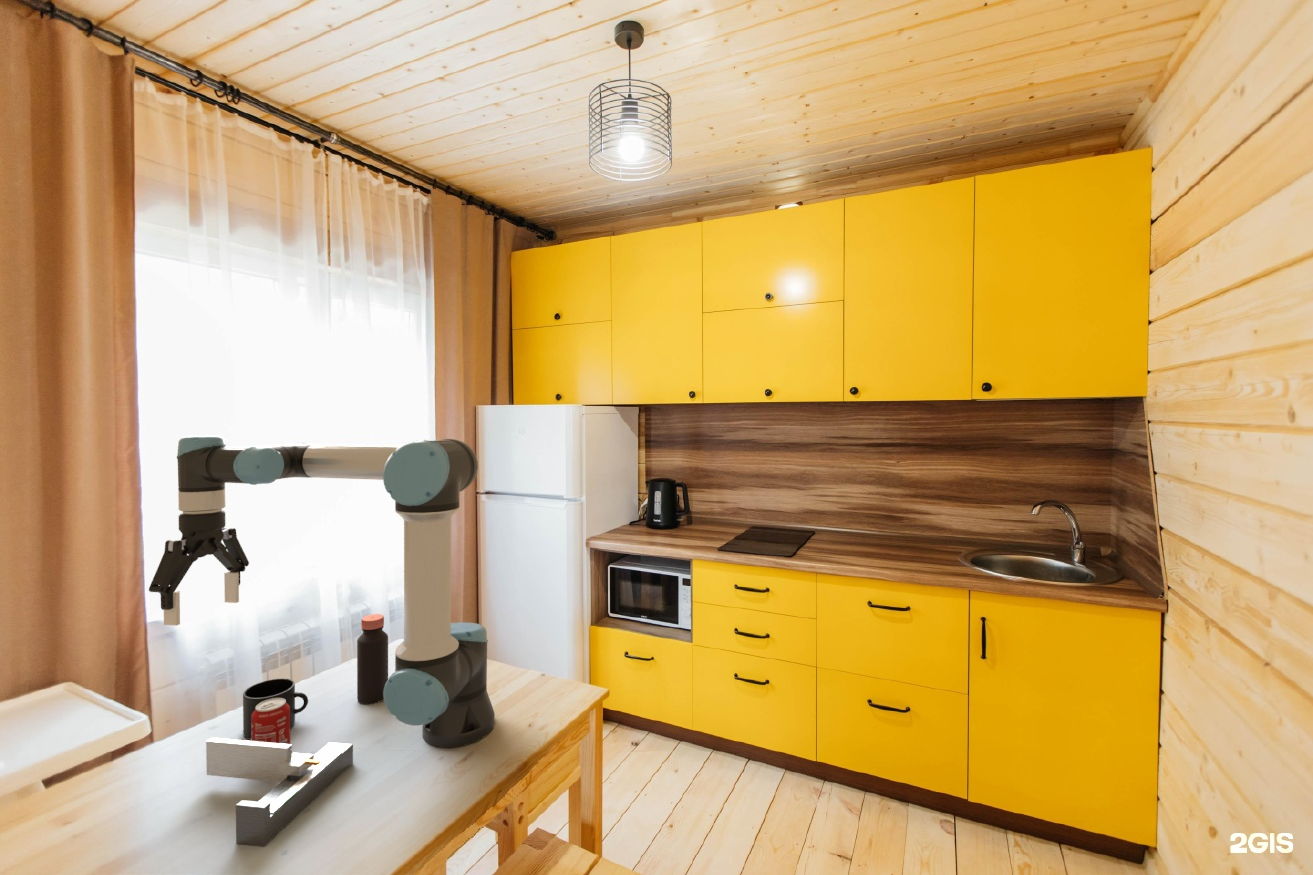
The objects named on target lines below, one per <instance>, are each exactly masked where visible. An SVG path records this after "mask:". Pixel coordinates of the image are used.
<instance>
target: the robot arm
mask: <svg viewBox="0 0 1313 875" xmlns="http://www.w3.org/2000/svg"><path fill="white" fill-rule="evenodd" d="M176 460H177V480H178V482H177V484H178V485H177V487H178V494H177V495H178V510H179V511H181V512H180V513H179V514H178V531H179V532H180V533H181V534H182V536H181V538H180V539H178V540H173V539H167V540H166V541H165V543H164V553H163V554H162V557H161V560H160V562H159V564H158V566H157V569H156V571H155V574H154V576H153V577H152V580H151V583H150V585H149V588H148V591H149V592H150V593H159V594H160V608H161V610H163V625H164V626H180V625H181V611H180V610H181V606H180V603H181V602H180V601H181V600H180V598H181V595H180V594H181V593H180V591H179V590H177V589H178V587H179V585H180V584H181V583H182V580H183V579H184V577H185V575H186V574H187V573H188V572H189V569H190V568H191V567H192V565H193V563H194V562H197V560H198V559H199V558H203V557H206V556H207V555H208V556H211V555H213V556H214V558H216V560H218V562H219V563H220V564H221V565H223V567H224V568H225V569H226V570H228V571H226V572H224V573H223V574H224V576H223V577H224V581H223V582H224V603H230V604H232V603H233V604H237V603H239V602H240V589H239V588H240V585H241V572H245V571H246V567H248V566H249V565H250V561H249V560H248V558H247V556H246V554H245V551H244V550H243V547H242V545H241V543H240V541H239V538H238V537H237V529H236V528H234V527H226V511H225V510H224V508H226V483H227V484H228V483H229V484H230V483H231V484H248V485H263V484H264V485H266V484H267V485H268V484H271V483H274V482H275V481H276V480H281V479H289V478H310V479H311V478H320V479H321V478H324V479H350V480H351V479H353V480H376V481H379V480H380V481H381V480H382V481H383V485H384V488H385V490H386V492H387V493H388V494H389V495H390V498H391V499H392V500H394V502H395V504H394V505H395V506H394V508H395V510H394V511H395V513H397V514H398V515H399V516H400V517H401V518H402V519H403V641H402V642H401V643H400V644H399V645H398V646H397V647H396V649H395V654H394V655H395V662H394V663H395V664H394V666H395V670H394V672H393V673H392V674H391V675H390V676H388V681H387V682H386V684H385V687H384V691H383V697H384V700H383V701H384V705H385V707H386V709H387V711H388V712H389V714H390V715H393V716H394V717H395V719H396V720H398V721H399V722H401V723H403V724H406V725H408V726H414V727H415V726H422V739H424V741H425V743H427V744H429V745H431V746H435V747H439V748H457V747H462V746H463V747H464V746H468V745H471V744H473V743H474V744H475V743H476V742H478V741H480V740H482V739H484V738H485V737H487V735H490V733H491V732H492V731H493V729H494V727H495V725H496V724H495V720H496V719H495V710H494V707H493V705H492V701H491V699H490V695H489V693H488V689H487V687H488V686H487V685H488V684H487V683H488V682H487V680H488V678H487V677H488V672H487V671H488V636H487V633H488V632H487V628H486V627H485V626H483V625H482V624H479V623H476V622H475V623H474V622H465V621H464V622H452V610H451V609H452V517H453V516H454V515H455V513H457V512H458V510H460V493H461V492H463V491H465V490H466V489H467V488H468V487H470V486H471V485H472V483H473V482H474V481H475V479H476V477H477V474H478V472H479V471H478V470H479V461H478V458H477V455H476V452H475V451H474V450H473V449H472V448H471V446H469V444H467V443H466V442H464V441H461V440H459V439H455V438H454V439H453V438H445V439H444V438H443V439H430V440H429V439H428V440H427V439H423V440H415V441H412V442H408V443H404V444H402V445H370V444H369V445H365V444H327V443H326V444H323V443H321V444H318V443H317V444H315V443H314V444H313V443H307V442H296V443H295V442H294V443H286V444H270V445H269V444H268V445H267V444H266V445H251V446H250V445H249V446H245V445H244V446H243V445H241V446H238V445H237V446H235V445H234V446H230V445H226V444H225V438H224V437H223V436H221V435H186V436H182V437H181V438H180V439H179V440H178V447H177V453H176Z"/></svg>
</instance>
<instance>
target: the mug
mask: <svg viewBox="0 0 1313 875" xmlns="http://www.w3.org/2000/svg"><path fill="white" fill-rule="evenodd" d="M295 685H296V683H295V681H294V680H293V679H290V678H272V679H268V680H264V681H260V682H258V683H256V684H253V685H251V686H249V687H247V688H246V689H245V690H244V692H243V693H242V713H243V714H242V717H243V721H242V724H243V725H242V726H243V727H242V729H243V731H242V732H243V733H242V734H243V735H244V737H245V738H246V739H248V740H252V735H251V716H252V713H253V712H254V711H255V707H256V706H257V705H258V704H259V703H260V702H263V701H265V700H268V699H272V698H283V699H285V700H286V703H287V704H288V705H289V706H290V729H292V727H293V726H294V725H295V722H296V715H297V714H299V713H301V712H303V710H305V709H306V708H307V706H308V704H309V698H308V696H307V695H306V694H305V693H303V692H299V691H298V692H297V691H296V689H295V688H296V686H295ZM296 698H301V699H302V700H303V704H302V706H301V707H299V708H296Z"/></svg>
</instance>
